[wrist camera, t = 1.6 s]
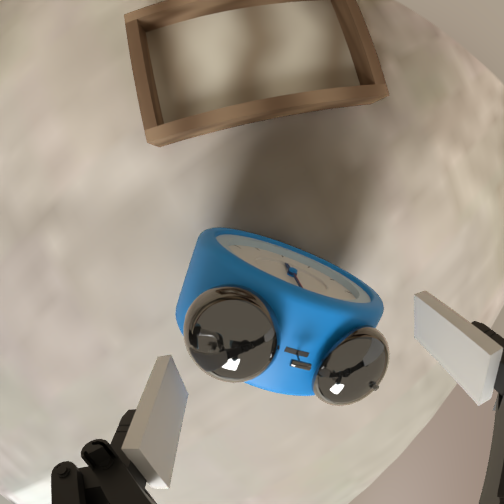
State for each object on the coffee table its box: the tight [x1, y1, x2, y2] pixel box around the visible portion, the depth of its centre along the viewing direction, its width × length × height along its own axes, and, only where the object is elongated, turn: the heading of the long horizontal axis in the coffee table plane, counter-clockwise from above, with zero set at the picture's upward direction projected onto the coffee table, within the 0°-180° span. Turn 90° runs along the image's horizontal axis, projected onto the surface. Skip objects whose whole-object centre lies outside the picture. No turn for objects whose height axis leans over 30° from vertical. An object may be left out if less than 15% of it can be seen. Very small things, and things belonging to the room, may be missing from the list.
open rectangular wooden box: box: [124, 0, 389, 147], centre depth 21 cm, size 19×12×4 cm, turn 103°
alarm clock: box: [176, 227, 389, 406], centre depth 20 cm, size 13×6×15 cm, turn 70°
